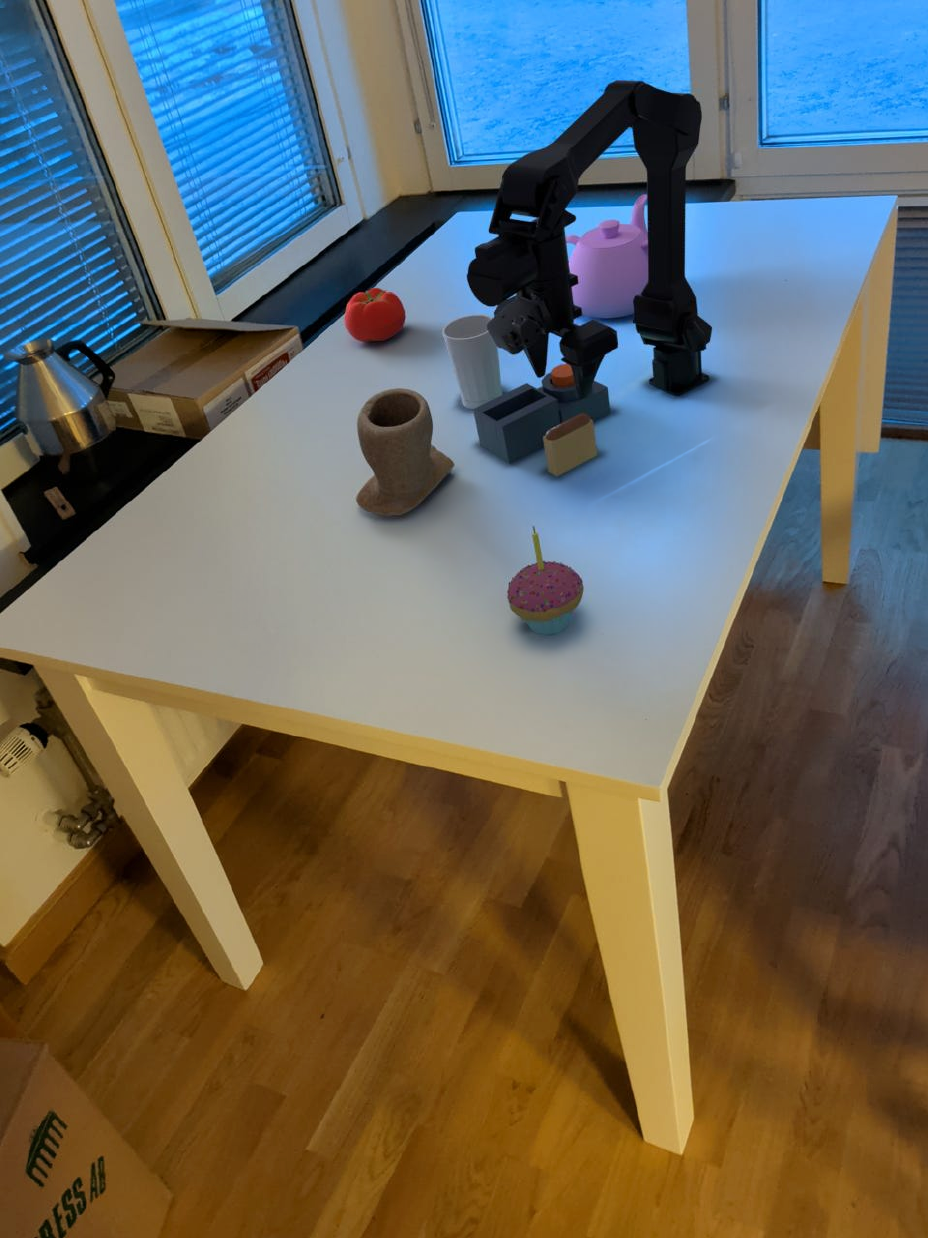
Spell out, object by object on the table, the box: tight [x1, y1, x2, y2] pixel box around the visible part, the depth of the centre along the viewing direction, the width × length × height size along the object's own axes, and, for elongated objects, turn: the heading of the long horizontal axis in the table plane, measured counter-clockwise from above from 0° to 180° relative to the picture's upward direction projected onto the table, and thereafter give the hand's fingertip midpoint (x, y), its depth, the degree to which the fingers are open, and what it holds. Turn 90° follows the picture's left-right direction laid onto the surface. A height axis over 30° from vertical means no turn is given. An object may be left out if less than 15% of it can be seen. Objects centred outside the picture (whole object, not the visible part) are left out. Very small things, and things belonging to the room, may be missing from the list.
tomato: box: [343, 287, 407, 343], centre depth 186 cm, size 11×11×8 cm
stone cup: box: [355, 387, 455, 517], centre depth 142 cm, size 15×12×15 cm
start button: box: [550, 363, 575, 387], centre depth 150 cm, size 4×4×2 cm
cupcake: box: [506, 525, 584, 636], centre depth 116 cm, size 9×8×12 cm
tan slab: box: [543, 413, 598, 477], centre depth 142 cm, size 7×2×6 cm, turn 123°
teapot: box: [565, 193, 648, 319], centre depth 177 cm, size 22×22×14 cm
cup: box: [442, 314, 504, 410], centre depth 159 cm, size 8×8×12 cm
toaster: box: [472, 382, 561, 464], centre depth 149 cm, size 9×7×6 cm
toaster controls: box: [537, 371, 611, 423], centre depth 152 cm, size 8×8×6 cm
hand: (561, 387), depth 137 cm, fingers open, 9 cm apart
